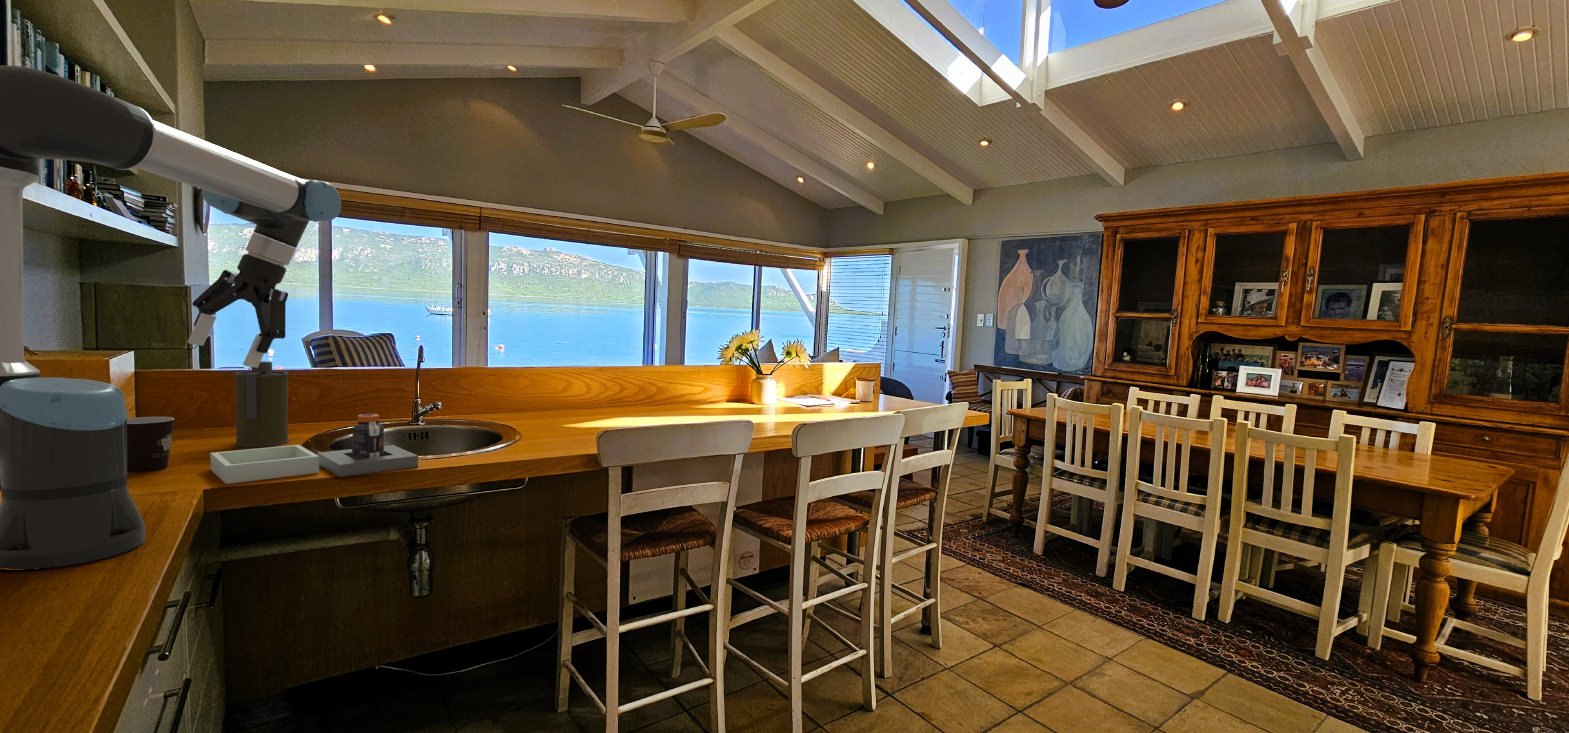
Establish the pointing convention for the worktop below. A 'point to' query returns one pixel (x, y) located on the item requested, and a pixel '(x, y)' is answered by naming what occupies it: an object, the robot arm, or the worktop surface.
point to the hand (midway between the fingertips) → (222, 355)
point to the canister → (261, 406)
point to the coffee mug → (148, 443)
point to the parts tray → (263, 463)
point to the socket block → (367, 461)
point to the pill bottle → (367, 437)
